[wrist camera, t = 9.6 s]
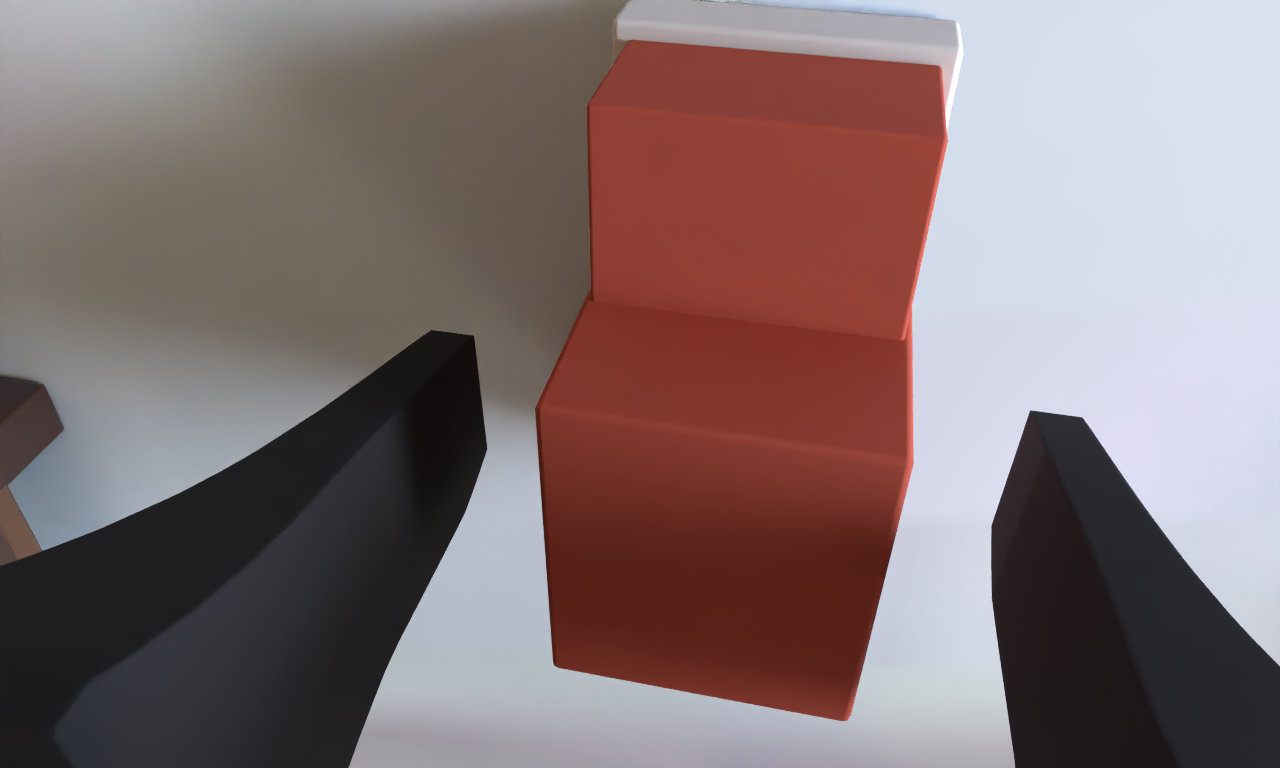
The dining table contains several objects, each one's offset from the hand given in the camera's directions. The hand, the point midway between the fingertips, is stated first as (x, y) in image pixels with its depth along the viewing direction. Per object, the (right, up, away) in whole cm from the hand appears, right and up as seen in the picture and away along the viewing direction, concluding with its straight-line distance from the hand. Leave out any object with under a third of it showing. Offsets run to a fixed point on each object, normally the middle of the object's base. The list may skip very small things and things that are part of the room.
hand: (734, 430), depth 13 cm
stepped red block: (+1, +2, +1) cm, 3 cm away
